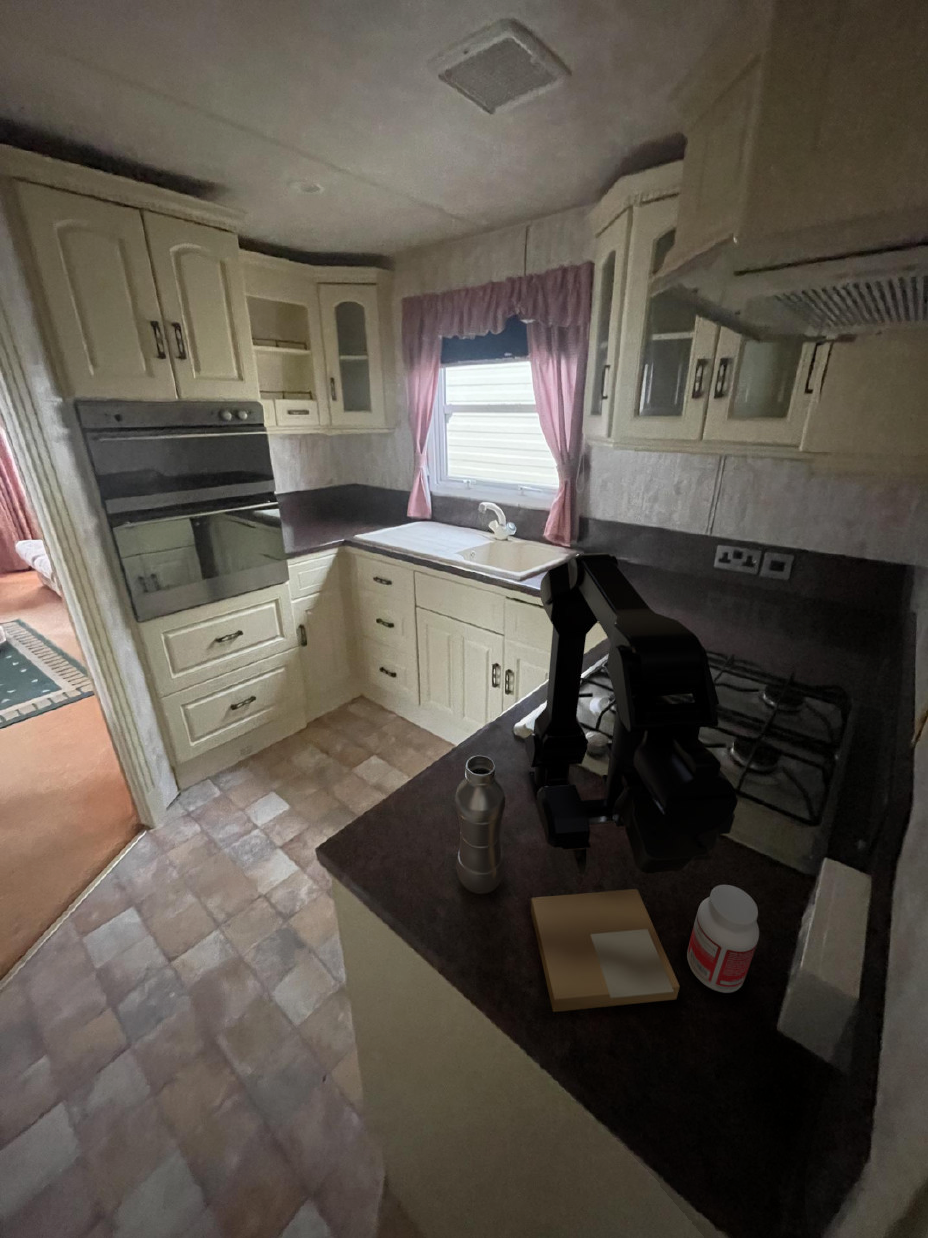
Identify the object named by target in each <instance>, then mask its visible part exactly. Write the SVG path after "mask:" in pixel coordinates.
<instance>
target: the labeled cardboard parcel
mask: <svg viewBox="0 0 928 1238" xmlns="http://www.w3.org/2000/svg"><path fill="white" fill-rule="evenodd" d="M530 904H531V905H530V913H531V917H532V922H533V927H534V932H535V936H536V941H537V946H538V949H539V954H540V959H541V963H542V964H541V965H542V969H543V973H544V978H545V982H546V986H547V991H548V997H549V1001H550V1004H551V1010H552V1012H553V1013H555V1012H556V1013H557V1012H567V1011H575V1010H586V1009H596V1008H597V1009H598V1008H607V1007H615V1006H624V1005H634V1004H643V1003H644V1004H645V1003H655V1002H664V1001H665V1002H666V1001H674V1000H677V998H678V994H679V992H680V987H681V986H680V983H679V982H678V979H677V977H676V975H675V972H674V970H673V967H672V965H671V963H670V961H669V958H668V956H667V954H666V952H665V949H664V947H663V944H662V943H661V940H660V938H659V935H658V933H657V930H656V928H655V927H654V925H653V922H652V920H651V917H650V915H649V912H648V910H647V908H646V906H645V903H644V901H643V898H642V897H641V894H640V892H639V890H638V888H634V889H633V888H631V889H622V890H621V889H620V890H610V891H609V890H608V891H596V892H585V893H575V894H563V895H562V894H560V895H553V896H552V895H549V896H539V897H538V896H537V897H531V902H530Z"/></svg>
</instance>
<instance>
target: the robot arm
mask: <svg viewBox="0 0 928 1238" xmlns="http://www.w3.org/2000/svg"><path fill="white" fill-rule="evenodd" d="M539 590H540V592H539V593H540V595H539V596H540V601H541V604H542V607H543V610H544V612H545V613H546V615H547V617H548V619H549V621H550V623H551V624H552V632H551V633H552V635H551V646H550V659H549V671H548V681H547V694H546V705H545V708H543V710H542V711H541V712H540V713H539V714H538V716H536V718H535V719H534V723H533V731H532V733H530V734H528V735H527V736H526V737H525V739H524V740H525V742H524V743H525V753H526V756H527V759H528V762H529V766H530V768H534V770H530V771H528V778H529V782H530V786H531V788H532V792H533V795H534V799H535V801H536V802H535V807H536V809H537V812H538V815H539V819H540V823H541V827H542V829H543V833H544V836H545V839H546V843H547V844H548V845H549V846H550V847H553V848H555V849H556V848H561V849H562V850H565V851H570V850H572V852H573V855H574V858H575V862H576V865H577V868H578V871H579V874H580V875H585V873H586V870H587V849H591V847H592V846H591V843H590V841H589V840H590V837H591V827H590V826H595V825H609V824H615V825H616V827H617V828H619V827H624V828H625V834H626V836H627V840H628V842H629V845H630V849H631V852H632V856H633V861H634V864H635V866H636V867H637V869H638V870H639V871H640V872H642V873H643V874H646V875H647V874H650V875H651V874H656V873H664V872H665V873H666V872H682V871H684V870H686V868H688V867H689V865H690V864H691V863H692V862H700V861H701V862H702V861H709V859H710V855H709V852H712V851H713V849H714V848H715V847H716V846H717V840H718V836H719V835H727V834H728V835H729V834H730V833H731V831H732V829H733V825H734V822H735V817H736V816H735V810H736V808H737V806H738V799H739V798H737V792H736V789H735V787H734V786H733V784H732V783H731V781H730V780H729V779H728V778H727V776H726V775H725V774H724V773H723V771H722V770H721V767H722V764H721V761H720V760H719V759H718V758H717V757H716V756H715V754H714V753H713V752H712V751H711V750H709V749H708V748H707V747H706V746H705V744H703V742H702V741H701V740H700V739H699V735H700V730H701V728H711V727H712V728H713V727H718V725H719V717H718V712H717V706H718V705H719V704H720V701H719V698H718V693H717V690H716V686H715V683H714V679H713V675H712V672H711V668H710V663H709V658H708V654H707V651H706V649H705V647H704V646H703V644H702V643H701V641H700V639H699V638H698V636H697V635H696V634H695V633H694V632H693V631H691V630H690V629H689V628H688V627H686V626H685V625H683V623H681V622H680V621H679V620H677V619H674V618H671V617H668V616H665V615H663V614H660V613H658V612H657V613H656V612H655V611H654V610H653V609H652V608H651V607H650V606H649V604H647V602H646V601H645V599H644V598H643V597H642V596H641V595H640V593H639V592H638V591H637V589H636V588H635V586H633V583H631V581H629V579H628V578H627V576H626V575H625V574H624V573H623V572H622V571H621V569H620V568H619V562H618V559H617V557H616V555H614V554H610V553H608V552H601V553H600V552H599V553H598V552H597V553H596V552H595V553H594V552H593V553H578V554H576V555H573V556H571V557H570V558H569V559H568V561H566V562H565V563H562V564H560V565H557V566H555V567H553V568H551V569H549V570H547V571H546V572H545V574H544V576H543V577H542V578H541V582H540V587H539ZM598 623H599V626H600V627H601V629H602V630H603V632H604V634H605V635H606V637H607V639H608V641H609V643H610V644H609V649H608V655H607V661H606V664H607V669H608V675H609V679H610V683H611V687H612V691H613V695H614V699H615V703H616V707H615V715H614V722H613V730H612V737H611V742H606V743H605V750H604V752H605V753H606V755H607V758H608V759H609V760H608V767H607V773H606V774H602V775H601V779H600V783H601V785H602V787H603V790H604V795H603V796H604V798H598V799H585V800H582V798H581V795H580V793H579V791H578V788H577V786H576V784H571V782H570V779H569V778H570V771H571V770H570V769H571V765H582V764H583V762H584V760H585V757H586V754H587V751H588V748H589V747H588V745H589V739H588V738H587V736H586V733H585V731H584V729H583V727H582V724H581V722H580V720H579V718H578V716H577V715H578V707H579V699H580V691H581V681H582V673H583V666H584V665H583V664H584V657H585V649H586V640H587V635H588V634H589V632H590V631H591V630H592V629H593V628H594V627H595V625H596V624H598ZM686 695H692V699H693V701H690V702H688V701H687V702H675V703H673V701H672V700H671V699H670V698H669V697H670V696H686Z"/></svg>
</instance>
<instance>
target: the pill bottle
mask: <svg viewBox="0 0 928 1238" xmlns="http://www.w3.org/2000/svg"><path fill="white" fill-rule="evenodd" d="M758 916H759V911H758V906H757V903H756V902H755V900H754V898H753V897H751V896H750V894H748V893H747V892H746V891H745V890H742V889H741V888H739V887H737V886H734V885H730V884H719V885H716V886H715V887H713V889H711V891H710V895H709V896H708V897H707V898H705V899H704V900H702V902H701V903H700V905H699V906H698V908H697V912H696V916H695V920H694V923H693V928H692V931H691V935H690V939H689V943H688V947H687V952H686V958H687V962H688V965H689V968H690V971H691V972H692V973H693V975H694V976H695V977H696V978H697V979H698V981H700V983H702V984H703V985H704V986H705V987H707V988H709V989H711V990H712V991H713V990H714V991H716V992H718V993H724V994H731V993H735V992H736V991H738V990H740V989H741V987H742V986H743V985H744V982H745V980H746V977H747V975H748V971H749V968H750V965H751V963H752V960H753V957H754V954H755V952H756V949H757V945H758V942H759V939H760V928H759V924H758V922H757V920H758Z"/></svg>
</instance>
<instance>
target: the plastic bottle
mask: <svg viewBox="0 0 928 1238" xmlns="http://www.w3.org/2000/svg"><path fill="white" fill-rule="evenodd" d="M496 776H497V774H496V764H495V761H494V760H493V759H491V757H489V756H487V755H486V756H485V755H473V756H471V757H470V758H469V759H467V761H466V763H465V772H464V778H463V780H462V781H461V782H460V783H459V784H458V786H457V789H456V791H455V794H454V795H455V796H454V801H455V807H456V812H457V813H456V814H457V818H458V824H459V834H460V835H459V836H460V837H459V838H460V839H459V848H458V849H459V850H458V852H457V858H456V872H457V877H458V880H459V881H460V883H461V884H462V886H463V887H464V888H465V889H467V890H468V891H470V892H472V893H473V894H478V895H486V894H488V893H489V894H490V893H491V892H492V891H494V890H496V889H497V887H499V886H500V884H501V882H502V880H503V875H504V872H505V865H504V858H503V853H502V847H501V831H502V829H501V828H502V820H503V816H504V811H505V807H506V795H505V792H504V789H503V787H502V786H501V784H500V783H499V782H498V781H497V779H496V778H497V777H496Z"/></svg>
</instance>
